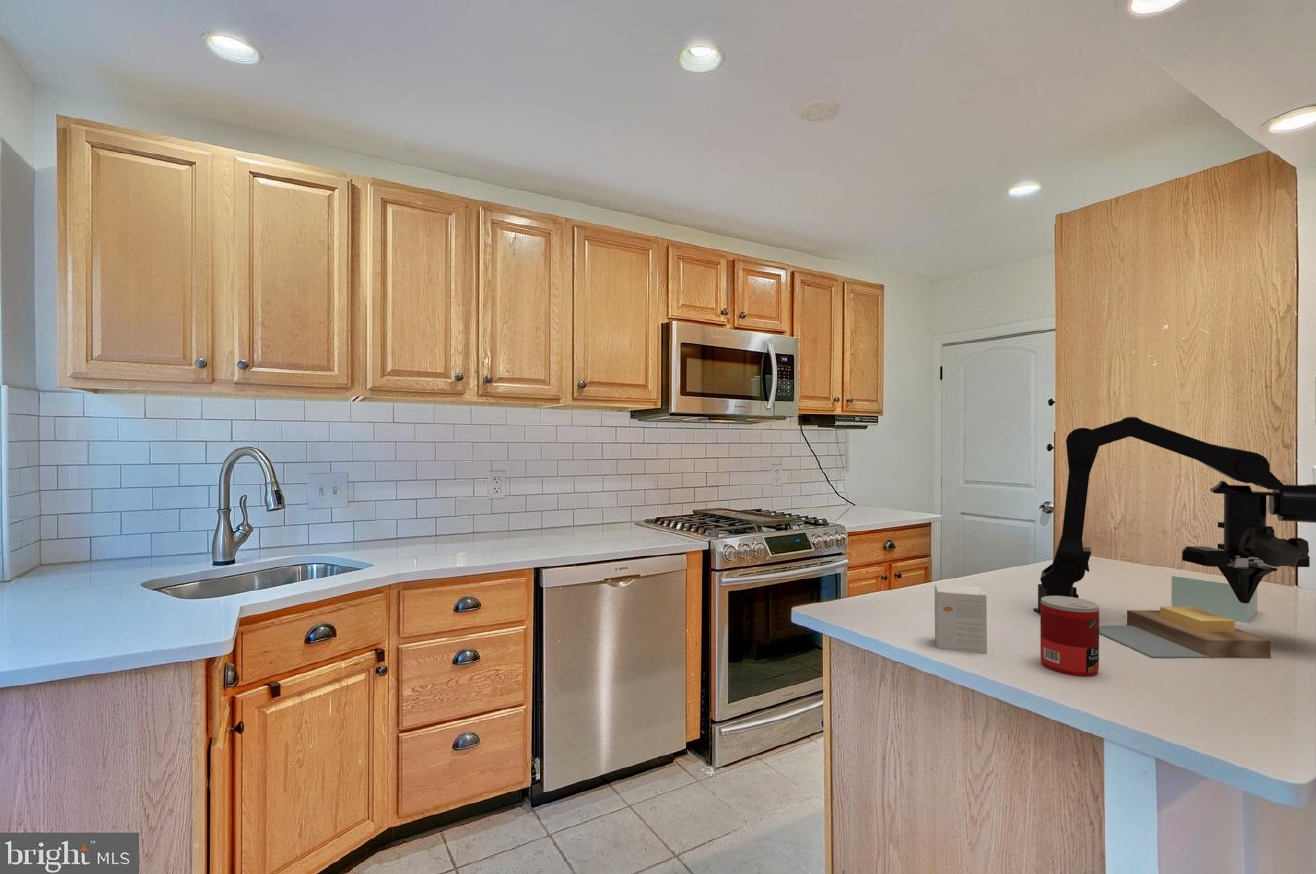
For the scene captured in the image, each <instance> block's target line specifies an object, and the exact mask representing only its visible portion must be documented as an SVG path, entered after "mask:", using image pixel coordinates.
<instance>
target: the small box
mask: <svg viewBox="0 0 1316 874" xmlns="http://www.w3.org/2000/svg"><path fill="white" fill-rule="evenodd" d="M987 607H988V606H987V595H986V593H985V592H984V590H983V588H981V587H979V586H966V585H965V586H963V585H962V586H961V585H950V584H949V585H946V584H945V585H944V584H935V585H934V642H935V644H936V647H937V649H939V650H948V651H957V652H968V653H979V654H987V653H988V630H987V629H988V627H987V625H988V624H987V619H988V616H987V609H988V608H987Z"/></svg>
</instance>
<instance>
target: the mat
mask: <svg viewBox="0 0 1316 874" xmlns="http://www.w3.org/2000/svg"><path fill="white" fill-rule="evenodd" d="M1102 635H1103V637H1104V636H1105V637H1104V638H1107V639H1109V640H1111V641H1113V642H1115V643H1118V644H1120V645H1122V646H1124V647H1127V648H1128V647H1129V649H1130V648H1131V650H1133V651H1135V652H1137V653H1139V654H1141V655H1144V656H1146V657H1147V658H1148V657H1149V658H1151V659H1177V658H1211V656H1206V655H1203V654H1201V653H1198V652H1196V651H1193V650H1191V649H1189V648H1186V647H1184V646H1181V645H1179V644H1176V643H1174V642H1171V641H1169V640H1167V639H1164V638H1162V637H1159V636H1157V635H1154V634H1152V633H1150V632H1147V631H1145V630H1142V629H1140V628H1137V627H1135V626H1128V625H1099V636H1102ZM1211 659H1212V658H1211Z"/></svg>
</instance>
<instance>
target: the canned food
mask: <svg viewBox="0 0 1316 874" xmlns="http://www.w3.org/2000/svg"><path fill="white" fill-rule="evenodd" d="M1039 614H1040V615H1039V616H1040V617H1039V618H1040V620H1039V621H1040V623H1039V625H1040V630H1039V631H1040V634H1039V635H1040V637H1039V638H1040V662H1041V664H1042V666H1043V667H1045V668H1047V669H1048V670H1051V671H1054V672H1057V673H1060V674H1063V675H1069V676H1073V677H1074V676H1075V677H1076V676H1077V677H1094V676H1097V674H1098V671H1099V669H1100V668H1099V667H1100V634H1099V626H1100V605H1099V604H1097V603H1096V602H1094V601H1090V600H1087V599H1084V598H1074V597H1066V596H1045V597H1042V598H1041V607H1040V613H1039Z"/></svg>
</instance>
